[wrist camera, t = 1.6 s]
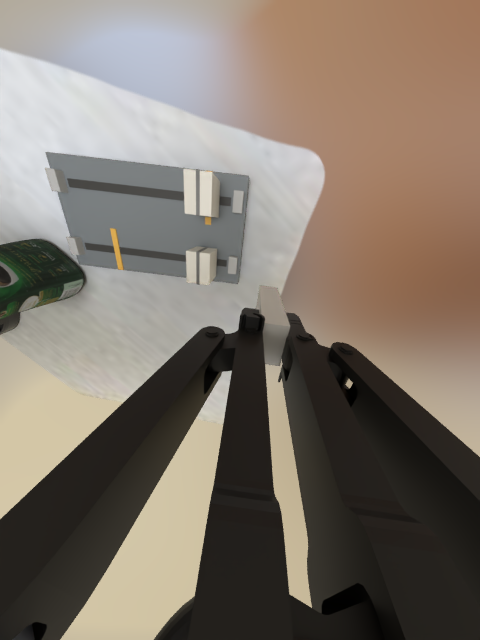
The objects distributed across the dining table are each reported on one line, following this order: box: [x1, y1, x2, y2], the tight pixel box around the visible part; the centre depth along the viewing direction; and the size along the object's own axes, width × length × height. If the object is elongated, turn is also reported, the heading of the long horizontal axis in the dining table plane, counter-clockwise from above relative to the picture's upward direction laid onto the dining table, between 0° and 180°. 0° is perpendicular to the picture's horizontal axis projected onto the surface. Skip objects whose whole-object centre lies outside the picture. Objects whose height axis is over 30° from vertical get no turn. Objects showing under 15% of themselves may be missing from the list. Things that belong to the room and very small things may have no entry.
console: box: [45, 152, 249, 284], centre depth 27 cm, size 26×14×3 cm, turn 84°
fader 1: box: [183, 169, 220, 218], centre depth 22 cm, size 3×4×5 cm
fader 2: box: [186, 246, 217, 285], centre depth 26 cm, size 3×4×5 cm
